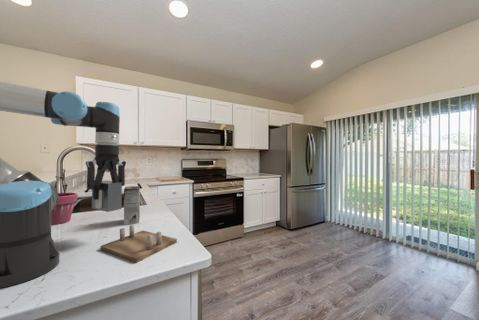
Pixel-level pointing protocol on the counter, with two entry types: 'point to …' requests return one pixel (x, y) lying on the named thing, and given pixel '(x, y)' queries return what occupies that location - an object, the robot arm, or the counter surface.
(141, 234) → the pin tray
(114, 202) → the grey square block
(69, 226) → the counter surface
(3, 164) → the robot arm
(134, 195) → the coffee box
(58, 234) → the counter surface
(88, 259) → the counter surface
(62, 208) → the plant pot
